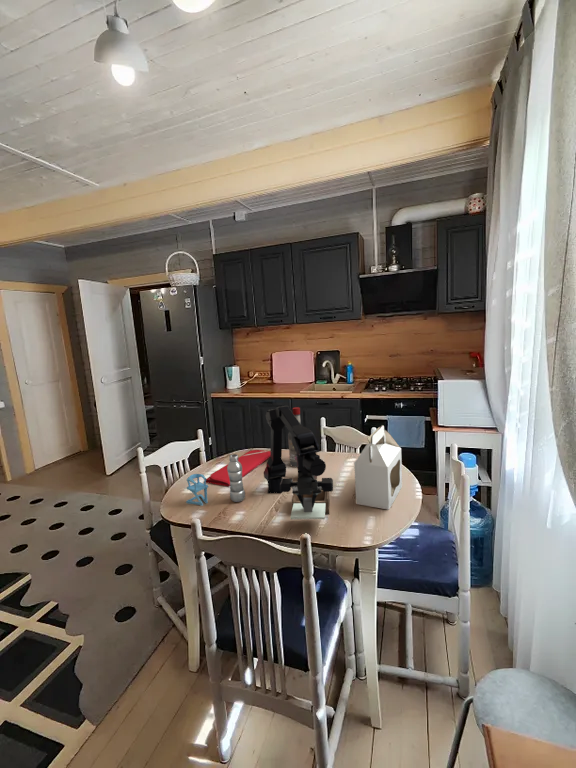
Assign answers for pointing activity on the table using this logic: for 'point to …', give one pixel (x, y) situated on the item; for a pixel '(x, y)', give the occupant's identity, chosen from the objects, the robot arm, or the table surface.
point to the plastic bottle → (235, 479)
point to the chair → (197, 489)
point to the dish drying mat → (248, 464)
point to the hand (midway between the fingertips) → (308, 506)
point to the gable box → (378, 471)
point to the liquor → (291, 448)
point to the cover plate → (308, 515)
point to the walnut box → (320, 498)
